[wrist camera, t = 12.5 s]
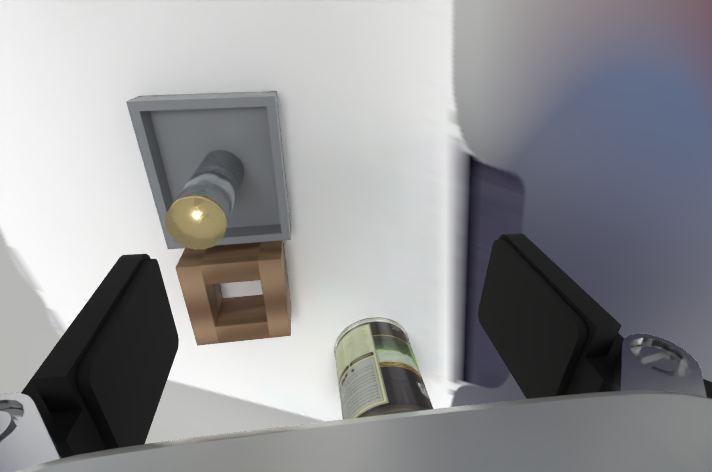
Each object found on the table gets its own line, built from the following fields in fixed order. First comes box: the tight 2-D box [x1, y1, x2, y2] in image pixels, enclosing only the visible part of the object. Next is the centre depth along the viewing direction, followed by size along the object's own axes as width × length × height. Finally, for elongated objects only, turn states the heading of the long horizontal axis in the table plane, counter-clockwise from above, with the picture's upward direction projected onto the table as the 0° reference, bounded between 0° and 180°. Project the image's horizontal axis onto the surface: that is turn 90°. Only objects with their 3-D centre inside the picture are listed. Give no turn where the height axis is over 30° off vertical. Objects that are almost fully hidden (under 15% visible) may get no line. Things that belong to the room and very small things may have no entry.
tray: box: [127, 91, 291, 249], centre depth 37 cm, size 14×12×3 cm
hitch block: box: [176, 240, 291, 345], centre depth 42 cm, size 10×10×5 cm
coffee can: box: [334, 318, 433, 420], centre depth 46 cm, size 10×10×14 cm
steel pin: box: [165, 150, 244, 250], centre depth 32 cm, size 4×4×12 cm
